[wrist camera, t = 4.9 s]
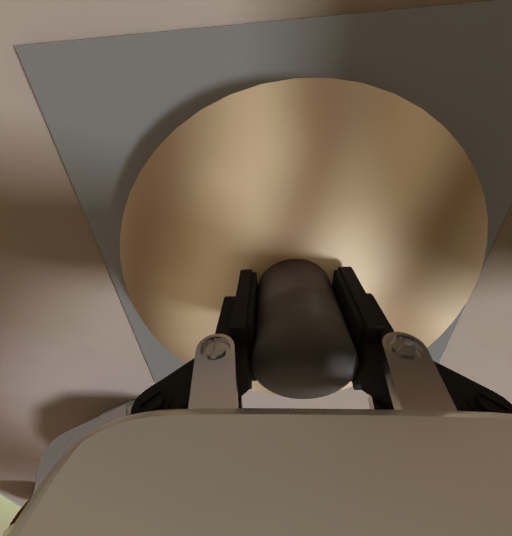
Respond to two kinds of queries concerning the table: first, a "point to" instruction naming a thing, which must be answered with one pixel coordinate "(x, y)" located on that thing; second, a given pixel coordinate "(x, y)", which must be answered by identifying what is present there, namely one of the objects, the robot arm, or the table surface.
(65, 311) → the table surface
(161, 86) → the mat
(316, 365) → the lid
